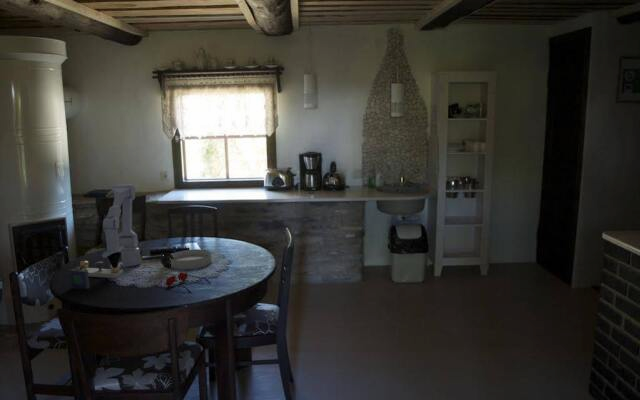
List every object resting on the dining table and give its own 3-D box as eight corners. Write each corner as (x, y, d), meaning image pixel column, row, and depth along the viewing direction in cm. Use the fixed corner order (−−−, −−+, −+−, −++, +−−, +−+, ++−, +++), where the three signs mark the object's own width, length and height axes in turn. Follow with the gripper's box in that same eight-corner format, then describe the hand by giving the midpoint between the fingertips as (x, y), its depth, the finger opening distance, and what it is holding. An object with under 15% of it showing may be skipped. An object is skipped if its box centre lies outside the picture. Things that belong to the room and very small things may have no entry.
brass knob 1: (88, 267, 263) (88, 260, 263) (89, 269, 260) (89, 261, 259) (80, 268, 261) (79, 261, 261) (81, 270, 258) (80, 263, 257)
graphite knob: (103, 268, 261) (102, 260, 261) (104, 270, 258) (104, 262, 257) (95, 269, 259) (94, 262, 259) (96, 271, 256) (95, 264, 255)
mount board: (123, 273, 260) (123, 269, 259) (114, 278, 253) (114, 274, 253) (86, 271, 265) (86, 267, 265) (77, 275, 258) (77, 271, 258)
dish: (161, 267, 270) (160, 258, 269) (186, 256, 290) (186, 247, 289) (195, 271, 261) (195, 262, 260) (219, 259, 281) (219, 251, 281)
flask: (91, 288, 239) (88, 266, 237) (86, 290, 236) (84, 268, 234) (74, 286, 242) (72, 265, 240) (70, 288, 239) (67, 267, 237)
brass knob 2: (119, 272, 259) (118, 265, 259) (120, 275, 256) (119, 267, 255) (110, 274, 257) (110, 266, 257) (112, 276, 254) (111, 268, 253)
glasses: (186, 279, 249) (185, 269, 248) (211, 284, 241) (211, 274, 240) (164, 288, 237) (164, 278, 237) (190, 293, 229) (189, 283, 228)
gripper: (110, 245, 246) (112, 272, 248) (128, 238, 260) (130, 263, 262) (97, 244, 247) (100, 271, 250) (116, 237, 261) (118, 263, 264)
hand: (115, 267), depth 256 cm, fingers closed, pressing on brass knob 2
